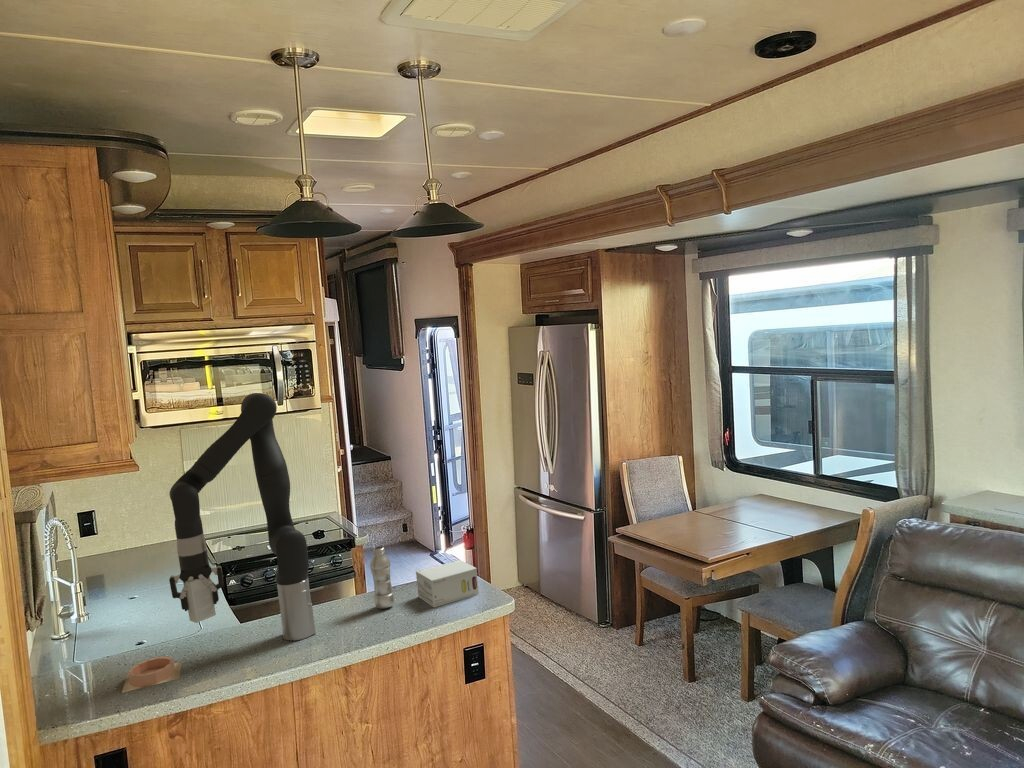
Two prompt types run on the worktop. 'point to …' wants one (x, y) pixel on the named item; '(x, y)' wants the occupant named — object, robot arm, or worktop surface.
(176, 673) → the cork mat
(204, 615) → the skincare box
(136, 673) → the terracotta bowl
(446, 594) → the supplement box
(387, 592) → the plastic bottle
